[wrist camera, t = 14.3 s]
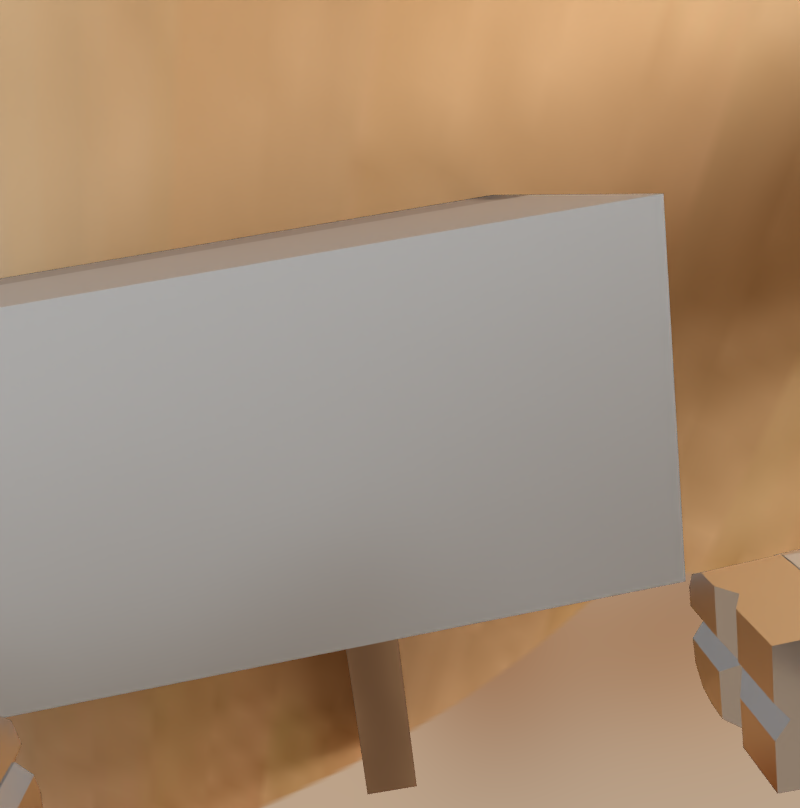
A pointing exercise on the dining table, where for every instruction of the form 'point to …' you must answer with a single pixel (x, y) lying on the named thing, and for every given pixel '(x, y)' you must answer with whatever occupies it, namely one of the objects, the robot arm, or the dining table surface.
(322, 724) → the dining table surface
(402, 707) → the wooden l-shaped bracket
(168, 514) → the cabinet
